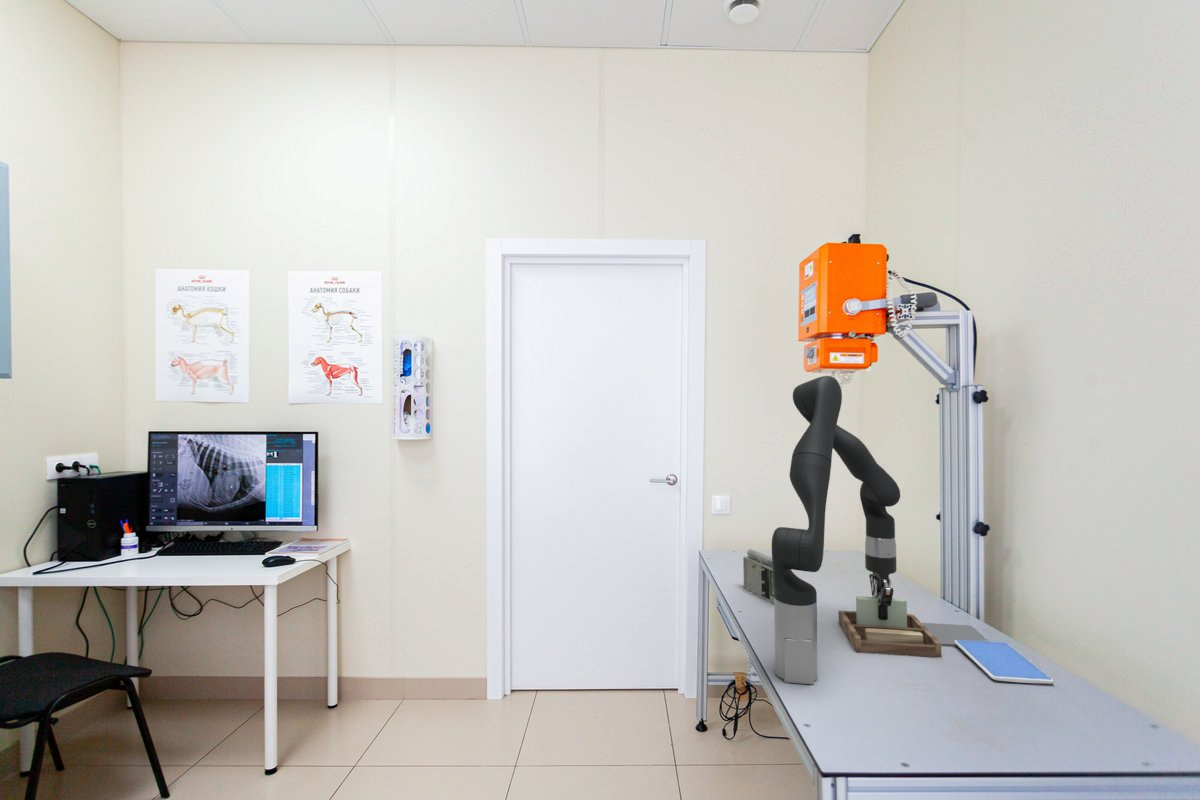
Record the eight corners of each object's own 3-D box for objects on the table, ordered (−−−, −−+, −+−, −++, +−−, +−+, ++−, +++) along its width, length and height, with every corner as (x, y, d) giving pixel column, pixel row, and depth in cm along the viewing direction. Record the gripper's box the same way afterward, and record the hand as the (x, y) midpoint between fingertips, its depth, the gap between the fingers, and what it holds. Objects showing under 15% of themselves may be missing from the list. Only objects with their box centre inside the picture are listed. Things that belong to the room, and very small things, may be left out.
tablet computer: (952, 643, 145) (952, 638, 145) (1006, 646, 143) (1006, 640, 143) (992, 682, 126) (992, 676, 126) (1056, 686, 124) (1056, 680, 124)
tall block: (907, 635, 151) (906, 601, 151) (858, 632, 153) (858, 599, 153) (904, 632, 153) (903, 598, 153) (856, 629, 155) (856, 596, 155)
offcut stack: (923, 653, 141) (923, 635, 141) (867, 649, 143) (866, 631, 143) (917, 646, 145) (917, 628, 145) (862, 642, 147) (862, 625, 147)
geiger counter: (739, 547, 190) (789, 567, 167) (755, 545, 192) (807, 564, 169) (740, 589, 190) (790, 615, 167) (756, 586, 192) (807, 611, 169)
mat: (996, 649, 142) (996, 647, 142) (935, 645, 145) (935, 643, 145) (970, 627, 156) (970, 625, 156) (915, 624, 159) (915, 622, 159)
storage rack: (941, 657, 138) (941, 643, 138) (855, 652, 142) (855, 638, 142) (913, 627, 157) (913, 614, 157) (838, 622, 160) (838, 610, 160)
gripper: (904, 560, 146) (905, 628, 146) (887, 547, 159) (888, 609, 159) (872, 559, 147) (873, 626, 147) (858, 546, 161) (859, 607, 161)
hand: (881, 617), depth 153 cm, fingers closed on tall block, 2 cm apart
